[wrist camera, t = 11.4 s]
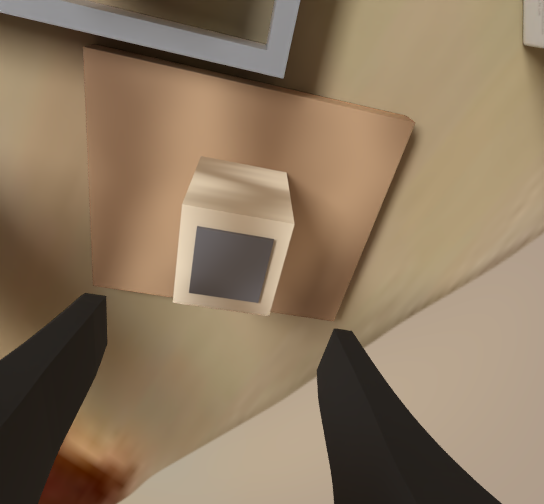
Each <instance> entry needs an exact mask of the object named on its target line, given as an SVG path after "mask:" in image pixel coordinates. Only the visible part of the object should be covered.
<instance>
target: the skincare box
mask: <svg viewBox="0 0 544 504" xmlns="http://www.w3.org/2000/svg"><path fill="white" fill-rule="evenodd" d="M523 43H524V45H526V46H531V47H538V48H544V0H524V3H523Z"/></svg>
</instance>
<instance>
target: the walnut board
mask: <svg viewBox="0 0 544 504" xmlns="http://www.w3.org/2000/svg"><path fill="white" fill-rule="evenodd" d="M83 59H84V83H85V106H86V130H87V154H88V177H89V201H90V225H91V248H92V272H93V286H98V287H105V288H112V289H119V290H126V291H132V292H139V293H146V294H153V295H159V296H166V297H173V295H174V284H175V274H176V263H177V253H178V242H179V232H180V221H181V211H182V203H183V201H184V198H185V196H186V193H187V190H188V188H189V185H190V183H191V180H192V178H193V175H194V172H195V170H196V167H197V165H198V162H199V160H200V157H201V156H204V157H209V158H214V159H220V160H225V161H230V162H235V163H240V164H245V165H250V166H255V167H261V168H266V169H271V170H276V171H281V172H286V173H287V179H288V185H289V191H290V198H291V204H292V211H293V217H294V228H293V231H292V235H291V239H290V242H289V246H288V249H287V253H286V257H285V260H284V264H283V267H282V271H281V275H280V278H279V282H278V285H277V289H276V293H275V296H274V300H273V303H272V307H271V311H270V312H275V313H282V314H288V315H295V316H302V317H309V318H315V319H322V320H329V321H334V320H335V318H336V315H337V313H338V310H339V308H340V305H341V303H342V300H343V298H344V296H345V293H346V291H347V288H348V286H349V283H350V281H351V279H352V276H353V274H354V271H355V269H356V266H357V264H358V261H359V259H360V257H361V254H362V252H363V249H364V247H365V244H366V242H367V240H368V237H369V235H370V232H371V230H372V227H373V225H374V222H375V220H376V218H377V215H378V213H379V210H380V208H381V205H382V203H383V201H384V198H385V196H386V193H387V191H388V188H389V186H390V184H391V181H392V179H393V176H394V174H395V171H396V169H397V166H398V164H399V162H400V159H401V157H402V154H403V152H404V149H405V147H406V145H407V142H408V140H409V137H410V135H411V132H412V130H413V127H414V125H415V122H414V121H413V120H411V119H410V118H409V117H407V116H405V115H400V114H396V113H392V112H387V111H383V110H379V109H374V108H370V107H365V106H361V105H357V104H352V103H348V102H344V101H339V100H335V99H331V98H326V97H322V96H318V95H313V94H309V93H305V92H300V91H296V90H292V89H287V88H283V87H279V86H274V85H270V84H266V83H261V82H257V81H253V80H248V79H244V78H240V77H235V76H231V75H227V74H222V73H218V72H214V71H209V70H205V69H201V68H196V67H192V66H188V65H183V64H179V63H175V62H170V61H166V60H162V59H157V58H153V57H149V56H144V55H140V54H136V53H131V52H127V51H123V50H118V49H114V48H110V47H105V46H101V45H97V44H92V45H88V46H84V47H83Z"/></svg>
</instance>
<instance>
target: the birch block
mask: <svg viewBox="0 0 544 504" xmlns="http://www.w3.org/2000/svg"><path fill="white" fill-rule="evenodd" d="M293 228H294V217H293V211H292V204H291V198H290V191H289V185H288V179H287V173H286V172H281V171H276V170H271V169H266V168H261V167H255V166H250V165H245V164H240V163H235V162H230V161H225V160H220V159H214V158H209V157H204V156H201V157H200V160H199V162H198V165H197V167H196V170H195V172H194V175H193V178H192V180H191V183H190V185H189V188H188V190H187V193H186V196H185V198H184V201H183V203H182V211H181V221H180V232H179V242H178V253H177V263H176V274H175V284H174V295H173V303H179V304H186V305H194V306H201V307H208V308H215V309H222V310H229V311H236V312H243V313H250V314H257V315H264V316H269V314H270V311H271V307H272V303H273V300H274V296H275V293H276V289H277V285H278V282H279V278H280V275H281V271H282V267H283V264H284V260H285V257H286V253H287V249H288V246H289V242H290V239H291V235H292V231H293Z"/></svg>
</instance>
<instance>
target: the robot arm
mask: <svg viewBox="0 0 544 504" xmlns="http://www.w3.org/2000/svg"><path fill="white" fill-rule="evenodd" d="M106 346H107V313H106V296H102V295H95V294H88V293H85V294H83V295H81V296H80V297H79V298H78V299H77V300H76V301H74V302H73V303H72V304H71V305H70V306H69V307H67V308H66V309H65V310H64V311H63V312H62V313H60V314H59V315H58V316H57V317H56V318H54V319H53V320H52V321H51V322H50V323H48V324H47V325H46V326H45V327H43V328H42V329H41V330H40V331H38V332H37V333H36V334H35V335H33V336H32V337H31V338H30V339H28V340H27V341H26V342H24V343H23V344H22V345H20V346H19V347H18V348H16V349H15V350H14V351H12V352H11V353H9V354H8V355H7V356H5V357H4V358H2V359H1V360H0V504H38V502H39V499H40V496H41V494H42V491H43V489H44V486H45V483H46V481H47V478H48V476H49V473H50V470H51V468H52V465H53V463H54V460H55V458H56V456H57V454H58V451H59V449H60V447H61V445H62V443H63V441H64V439H65V437H66V435H67V433H68V431H69V429H70V427H71V425H72V423H73V421H74V419H75V417H76V415H77V413H78V411H79V409H80V407H81V405H82V403H83V401H84V399H85V397H86V395H87V392H88V390H89V388H90V386H91V384H92V382H93V380H94V378H95V376H96V374H97V371H98V368H99V366H100V363H101V360H102V357H103V354H104V351H105V349H106ZM317 385H318V399H319V407H320V412H321V418H322V424H323V429H324V435H325V441H326V446H327V452H328V458H329V463H330V469H331V476H332V483H333V494H334V504H501V503H500V502H499V501H498V500H497V499H496V498H494V497H493V496H492V495H491V494H490V493H489V492H488V491H486V490H485V489H484V488H483V487H482V486H481V485H480V484H479V483H477V482H476V481H475V480H474V479H473V478H472V477H471V476H470V475H469V474H468V473H467V472H466V471H465V470H463V469H462V468H461V467H460V466H459V465H458V464H457V463H456V462H455V461H454V460H453V459H452V458H451V457H450V456H449V455H448V454H447V453H446V452H445V451H444V450H443V449H442V448H441V447H440V446H439V445H438V444H437V442H435V440H434V439H433V438H432V437H431V436H430V435H429V434H428V433H427V432H426V430H425V429H424V428H423V427H422V426H421V425H420V424H419V423H418V421H417V420H416V419H415V418H414V417H413V416H412V414H411V413H410V412H409V410H408V409H407V408H406V407H405V405H404V404H403V403H402V402H401V400H400V399H399V398H398V397H397V395H396V394H395V393H394V391H393V390H392V389H391V387H390V386H389V385H388V383H387V382H386V381H385V379H384V378H383V376H382V375H381V373H380V372H379V371H378V369H377V368H376V366H375V365H374V363H373V362H372V360H371V359H370V357H369V356H368V355H367V353H366V352H365V350H364V348H363V347H362V345H361V344H360V342H359V341H358V339H357V338H356V336H355V335H354V334H353V332H352V331H348V330H341V329H334V330H333V332H332V335H331V337H330V340H329V342H328V344H327V347H326V349H325V352H324V354H323V356H322V359H321V361H320V364H319V366H318V369H317Z"/></svg>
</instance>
